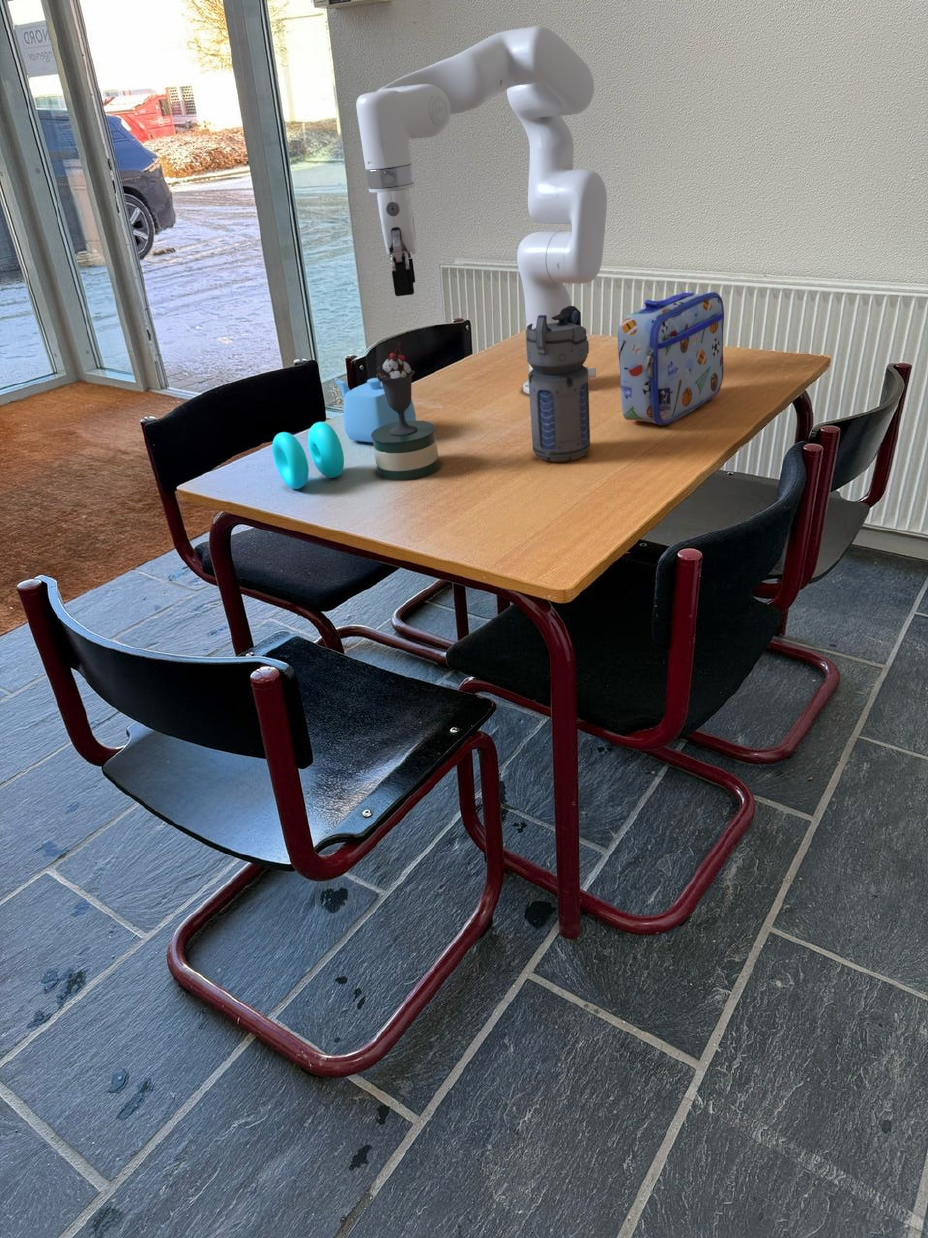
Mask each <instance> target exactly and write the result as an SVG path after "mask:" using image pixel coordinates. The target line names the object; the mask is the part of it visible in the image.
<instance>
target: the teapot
mask: <svg viewBox="0 0 928 1238" xmlns="http://www.w3.org/2000/svg"><path fill="white" fill-rule="evenodd" d="M333 383H335V384H336V385H337V386H338V388H339V390H340V392H341V395H342V400H343V401H342V402H343V427H344V432H345V434H346V436H347V437H348V439H349V440H352V441H357V442H360V443H373V439H372V438H371V434H372V432H373V431H374V430H375V429H377V428H379V427H381V426H384V425H387V424H390V423H395V422H399V418H398V413H397V412H396V411H394V410H393V409H391V408H390V407H389V405H388V402H387V399H386V396H385V392H384V389H383V385H382V382H381V381H379V380H378V379H377V377H372V378H369V379H367V380H366V382H365V383H363V384H361V385H358V386H356V387H354V388H352V389H350V387H349V386H348V385H347V383H346V382H344V381H343V380H340V379H334V380H333ZM404 415H405V420H406V421H411V420H416V419H417V416H416V411H415V406H414V402H413V398H411V404H410V405H409V407H408V408H407V409H406V410H405V412H404Z"/></svg>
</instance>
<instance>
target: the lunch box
mask: <svg viewBox="0 0 928 1238" xmlns="http://www.w3.org/2000/svg"><path fill="white" fill-rule="evenodd" d="M724 323H725V308H724V302H723V298H722V296H721V295H720V294H719V293H718V292H715V291H714V292H713V291H711V292H707V293H705V292H704V293H695V292H681V293H676V294H674V295H671V296H669V297H667V298H664V299H661V300H651V299H646V300H644V307H642V308H639V309H638V310H636V311H633V312H632V313H630V314H628V315H627V316H626V317H624V319H623V320H622V321H621V323H620V325H619V327H618V332H617V349H618V350H617V351H618V362H619V363H618V365H619V374H620V375H619V376H620V403H621V412H622V416H623V419H625V420H626V421H637V422H646V423H651V424H655V425H658V426H659V427H660V426H661V427H663V426H667V425H671V424H673V422H676V421H677V420H679V419H681V418H682V417H685V416H686V415H687V414H690V413H692V412H693V411H695V410H696V409H697V408H699V407H701V406H702V405H704V404H705V403H706V402H707V401H709V400H711V399H712V398H714V397H715V396H716V395H718V393H719V392H720V389H721V387H722V384H723V380H724V373H725V372H724V371H725V369H724V368H725V367H724V327H725V325H724Z"/></svg>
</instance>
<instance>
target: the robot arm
mask: <svg viewBox="0 0 928 1238" xmlns="http://www.w3.org/2000/svg"><path fill="white" fill-rule="evenodd" d="M504 92H506V95H507V100H508V103H509V106H510V108H511V110H512V111H513V113H514V114H515V115H516V117H517V118H518V120H519V121H520V123H521V125H522V127H523V129H524V130H525V134H526V136H527V139H528V145H529V163H528V165H529V166H528V183H527V184H528V185H527V186H528V187H527V210H528V214H529V216H530V218H531V219H532V220H533V221H535V222H536V223H540V224H546V225H547V224H548V225H571V231H562V230H546V231H545V230H544V231H535V232H532V233H529V234H527V235H526V236H525V237H524V238H523V239H522V240H521V242H520V243H519V245H518V247H517V252H516V261H517V262H516V263H517V267H518V268H517V269H518V272H519V276H520V281H521V284H522V290H523V296H524V297H523V298H524V306H525V307H524V308H525V323H526V327H527V326H528V325H530V324H533V325H532V329H534V328H536V324H537V317H538V316H539V315H547V319H546V320H547V324H550V323H558V322H559V320H553V319H552V317H554V316H556V315H558V314H560V312H561V310H562V309H564V308H566V307H568V306H572V300H571V297H570V294H569V292H568V289H567V287H566V286H565V284H580V285H581V284H588V283H590V282H592V281H594V280H595V279H596V278H597V276H598V275H599V273H600V271H601V268H602V263H603V256H604V245H605V233H606V220H607V208H608V195H607V194H608V193H607V188H606V185H605V182H604V179H603V178H602V176H601V175H600V174H599V173H598V172H596V171H594V170H591V169H574V153H575V152H574V151H575V148H574V147H575V146H574V145H575V143H574V137H573V134H572V132H571V130H570V128H569V126H568V124H567V123H566V121H565V120H564V118H563V116H574V115H578V114H580V113H583V112H584V111H585V110H587V109H588V107H589V106H590V105H591V102H592V100H593V97H594V92H595V84H594V77H593V74H592V72H591V69H590V67H589V66H588V64H587V63H586V62H585V61H584V59H583V58H582V57H581V56H579V54H578V53H577V52H576V51H575V50H573V48H572V47H571V46H569V44H568V43H567V42H566V41H565V40H564V39H562V38H561V37H560V36H559V35H558V34H557V33H555V32H554V31H552V30H551V29H550V28H548V27H545V26H542V25H534V26H527V27H520V28H513V29H508V30H503V31H499V32H496V33H494V34H492V35H490V36H489V37H486V38H485V39H482V40H481V41H479V42H477V43H476V44H474V45H472V46H470V47H469V48H467V49H465V50H462V51H461V52H459V53H457V54H454V55H453V56H450V57H447V58H444V59H442V60H440V61H438V62H437V61H436V62H435V63H433V64H431V65H428V66H426V67H424V68H421V69H418V70H416V71H412V72H410V73H408V74H405V75H404V76H401V77H398V78H397V79H395V80H393V81H392V82H389V83H387V84H386V85H384V86H382V87H380V88H379V89H377V90H376V91H372V92H367V93H363V94H361V95H359V96H358V97H357V99H356V102H355V107H356V115H357V122H358V129H359V134H360V142H361V149H362V154H363V161H364V169H365V176H366V181H367V187H368V192H369V193H375V194H376V199H377V205H378V206H377V207H378V212H379V213H378V214H379V219H380V220H379V221H380V225H381V231H382V237H383V242H384V246H385V251H386V255H387V256H388V257H389V258H391V269H392V270H391V277H392V285H393V290H394V291H393V292H394V295H395V297H405V296H412V295H414V294H415V287H414V283H415V282H416V276H415V268H414V262H413V261H414V259H413V258H412V255H415V254H416V253H417V250H418V241H417V235H416V228H415V227H416V226H415V220H414V212H413V205H412V199H411V194H410V189H411V188H415V179H414V177H415V176H414V170H413V161H412V154H411V146H410V139H411V140H412V139H413V140H414V139H426V138H433V137H435V136H437V135H439V134H441V133H442V132H443V131H444V130H445V129H446V127H447V126H448V124H449V122H450V118H451V115H457V114H461V113H465V112H469V111H472V110H475V109H477V108H480V106H482V105H484V104H485V103H488V102H489V101H490V100H492V99H493V98H495V97H497V96H498V95H500V94H502V93H504ZM585 367H586V368H587V369H588V379H590V378H596V377H597V368H596V367H589V366H585ZM531 370H533V368H532V367H531V365H530V364H529V363H528V374H529V373H530V372H531ZM522 389H523V390H522V391H523V392H524V393H525V394H526V395H529V380H526V382H524V383H523V385H522Z"/></svg>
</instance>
